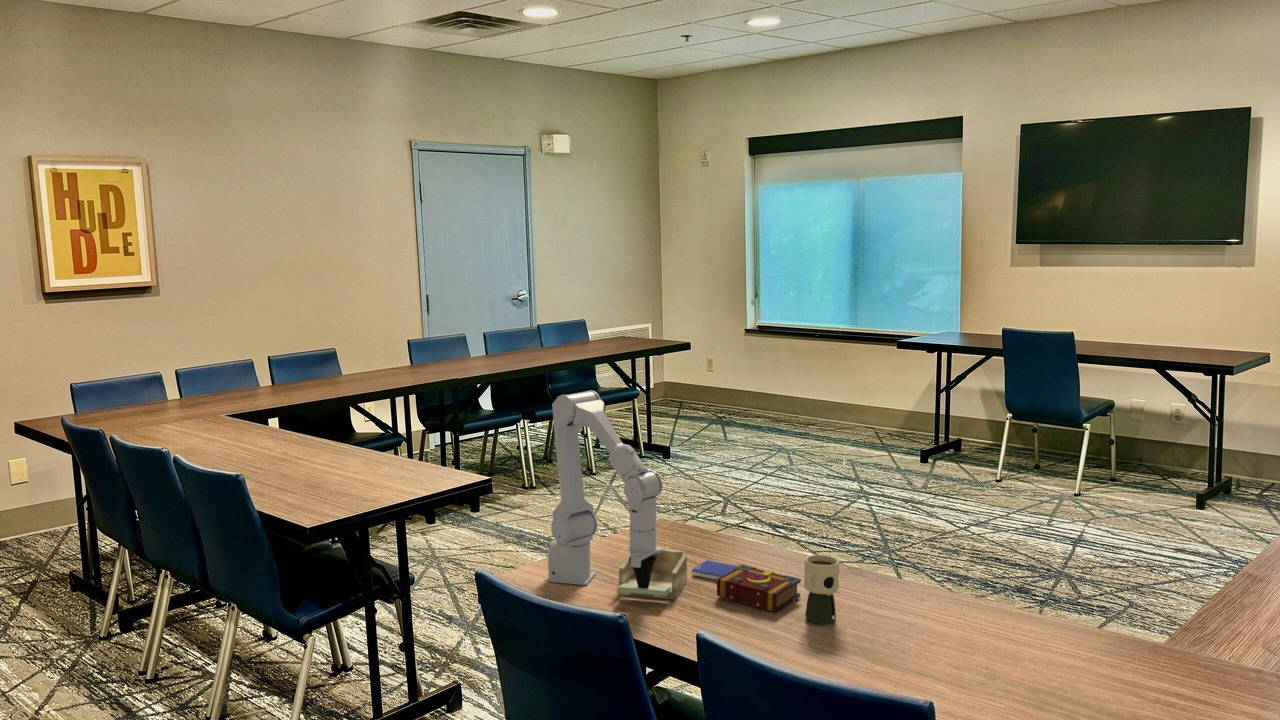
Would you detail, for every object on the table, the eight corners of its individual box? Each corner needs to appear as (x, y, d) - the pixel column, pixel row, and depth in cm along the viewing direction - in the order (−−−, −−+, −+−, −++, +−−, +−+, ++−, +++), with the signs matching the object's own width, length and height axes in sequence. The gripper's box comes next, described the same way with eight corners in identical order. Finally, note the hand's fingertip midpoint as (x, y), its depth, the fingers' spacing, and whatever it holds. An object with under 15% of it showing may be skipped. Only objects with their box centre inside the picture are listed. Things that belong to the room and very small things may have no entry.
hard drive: (691, 569, 230) (740, 578, 224) (707, 559, 237) (754, 568, 231) (691, 575, 230) (740, 585, 224) (707, 565, 237) (754, 574, 231)
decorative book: (775, 614, 208) (776, 592, 207) (711, 596, 217) (711, 575, 216) (800, 598, 217) (801, 576, 216) (737, 581, 226) (737, 560, 225)
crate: (619, 594, 219) (619, 563, 218) (632, 575, 231) (632, 546, 230) (676, 599, 216) (676, 568, 215) (686, 580, 228) (686, 551, 227)
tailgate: (623, 590, 218) (617, 594, 213) (624, 583, 218) (617, 586, 213) (669, 594, 216) (664, 598, 210) (670, 587, 216) (664, 590, 210)
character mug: (820, 632, 199) (822, 570, 197) (791, 623, 203) (792, 562, 202) (849, 616, 206) (851, 557, 205) (820, 607, 211) (821, 549, 209)
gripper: (653, 539, 203) (654, 602, 205) (668, 519, 217) (668, 577, 219) (620, 537, 205) (621, 599, 207) (637, 516, 219) (637, 575, 221)
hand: (643, 588), depth 213 cm, fingers closed, pressing on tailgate
